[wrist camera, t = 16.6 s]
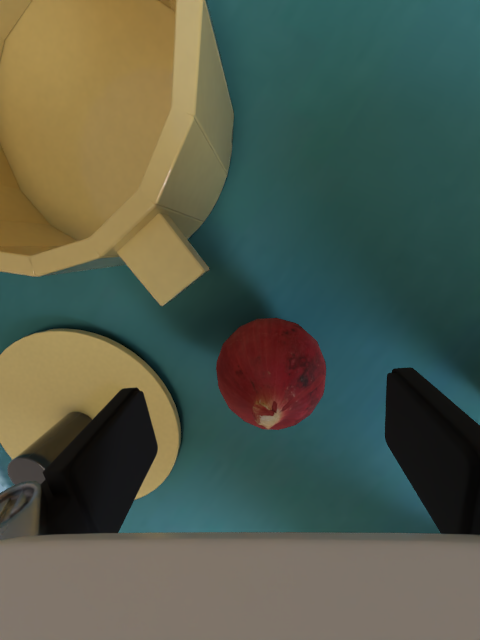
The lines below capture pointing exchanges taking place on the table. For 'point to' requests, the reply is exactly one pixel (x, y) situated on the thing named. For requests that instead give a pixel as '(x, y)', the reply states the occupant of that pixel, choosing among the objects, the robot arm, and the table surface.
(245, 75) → the table surface
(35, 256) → the pot
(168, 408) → the lid
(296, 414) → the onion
